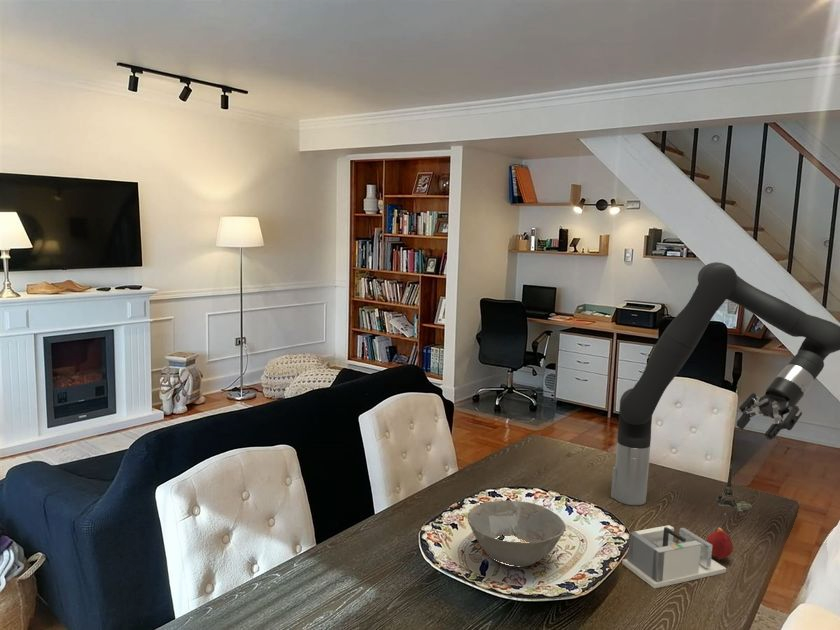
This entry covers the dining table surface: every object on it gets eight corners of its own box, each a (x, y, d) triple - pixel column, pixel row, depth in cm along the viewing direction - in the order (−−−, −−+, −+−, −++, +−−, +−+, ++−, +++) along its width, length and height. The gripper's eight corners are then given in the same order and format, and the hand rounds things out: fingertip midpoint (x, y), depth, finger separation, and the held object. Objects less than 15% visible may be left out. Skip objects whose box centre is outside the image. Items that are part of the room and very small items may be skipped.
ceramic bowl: (575, 583, 140) (577, 542, 138) (473, 585, 138) (475, 543, 137) (548, 535, 161) (550, 499, 160) (460, 536, 160) (461, 499, 158)
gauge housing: (690, 549, 156) (693, 518, 155) (726, 572, 146) (729, 539, 145) (622, 563, 149) (624, 530, 147) (654, 588, 138) (657, 553, 137)
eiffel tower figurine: (726, 517, 176) (730, 472, 174) (696, 503, 185) (699, 460, 183) (760, 508, 183) (764, 464, 181) (729, 494, 192) (733, 453, 190)
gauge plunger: (681, 548, 154) (684, 514, 152) (714, 569, 144) (717, 533, 143) (645, 556, 150) (648, 520, 148) (676, 578, 140) (679, 540, 139)
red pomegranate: (729, 555, 154) (732, 525, 153) (732, 567, 148) (735, 535, 147) (704, 551, 156) (706, 520, 154) (706, 562, 150) (709, 531, 149)
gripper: (759, 370, 167) (723, 415, 165) (809, 383, 154) (770, 431, 151) (772, 388, 170) (736, 432, 167) (822, 402, 156) (784, 450, 154)
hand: (752, 432), depth 159 cm, fingers open, 8 cm apart
